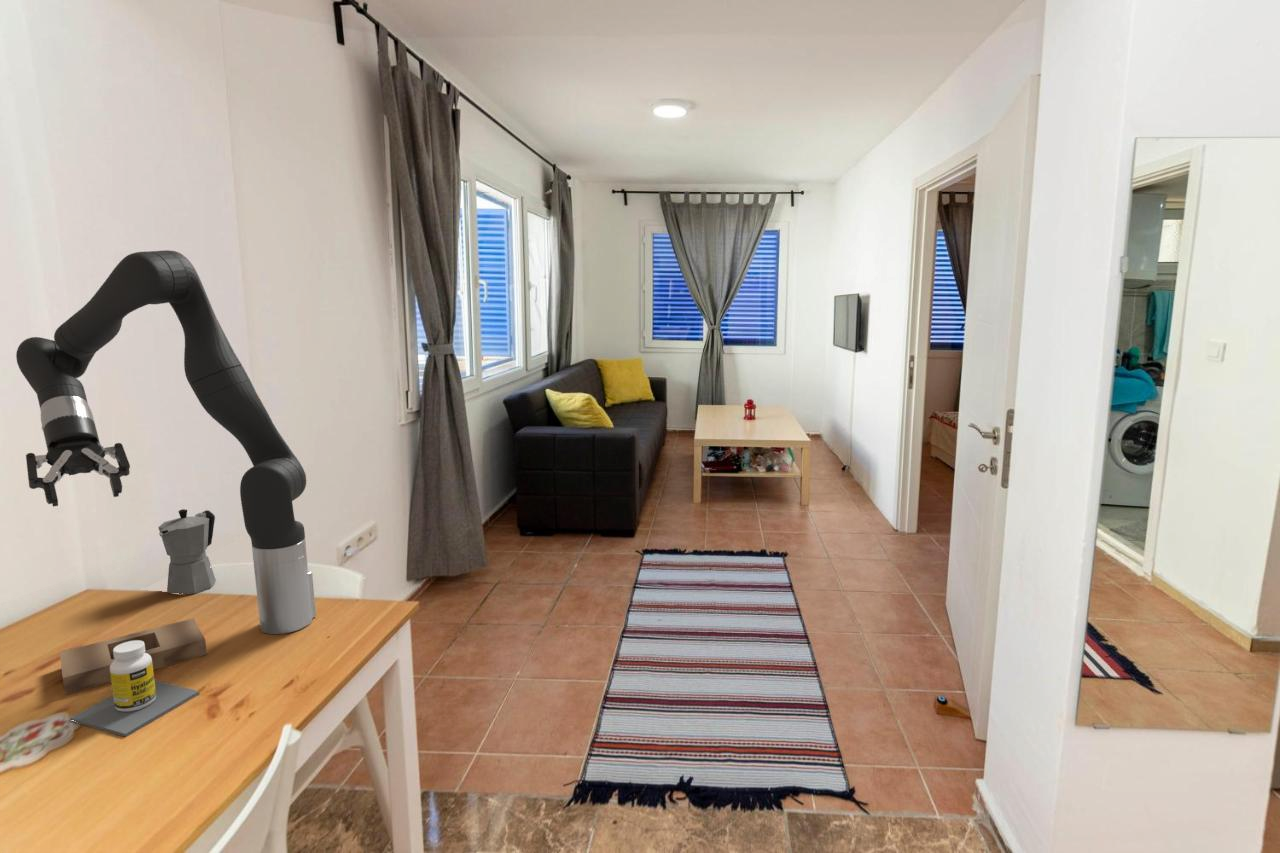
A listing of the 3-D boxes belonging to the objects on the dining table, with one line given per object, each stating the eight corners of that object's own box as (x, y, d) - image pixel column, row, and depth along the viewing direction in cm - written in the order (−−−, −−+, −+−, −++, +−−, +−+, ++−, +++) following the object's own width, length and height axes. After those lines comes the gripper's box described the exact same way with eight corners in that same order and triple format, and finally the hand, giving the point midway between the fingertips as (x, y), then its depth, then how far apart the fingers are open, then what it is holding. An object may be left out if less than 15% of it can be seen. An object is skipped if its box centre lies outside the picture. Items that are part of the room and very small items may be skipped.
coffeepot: (189, 601, 149) (180, 520, 146) (149, 598, 150) (138, 518, 147) (238, 572, 164) (230, 498, 161) (200, 571, 165) (192, 497, 162)
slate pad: (146, 680, 118) (146, 677, 118) (199, 693, 115) (199, 691, 115) (69, 720, 107) (69, 717, 107) (125, 736, 104) (125, 733, 103)
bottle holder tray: (65, 694, 114) (62, 678, 114) (62, 668, 122) (59, 652, 122) (206, 654, 127) (205, 639, 127) (195, 632, 135) (193, 618, 135)
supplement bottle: (135, 715, 108) (126, 656, 106) (106, 710, 109) (97, 652, 107) (165, 695, 113) (157, 639, 111) (137, 691, 114) (129, 636, 112)
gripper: (16, 418, 122) (32, 495, 116) (117, 409, 132) (136, 480, 126) (19, 443, 127) (34, 518, 121) (116, 433, 137) (134, 502, 131)
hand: (86, 499), depth 123 cm, fingers open, 8 cm apart
